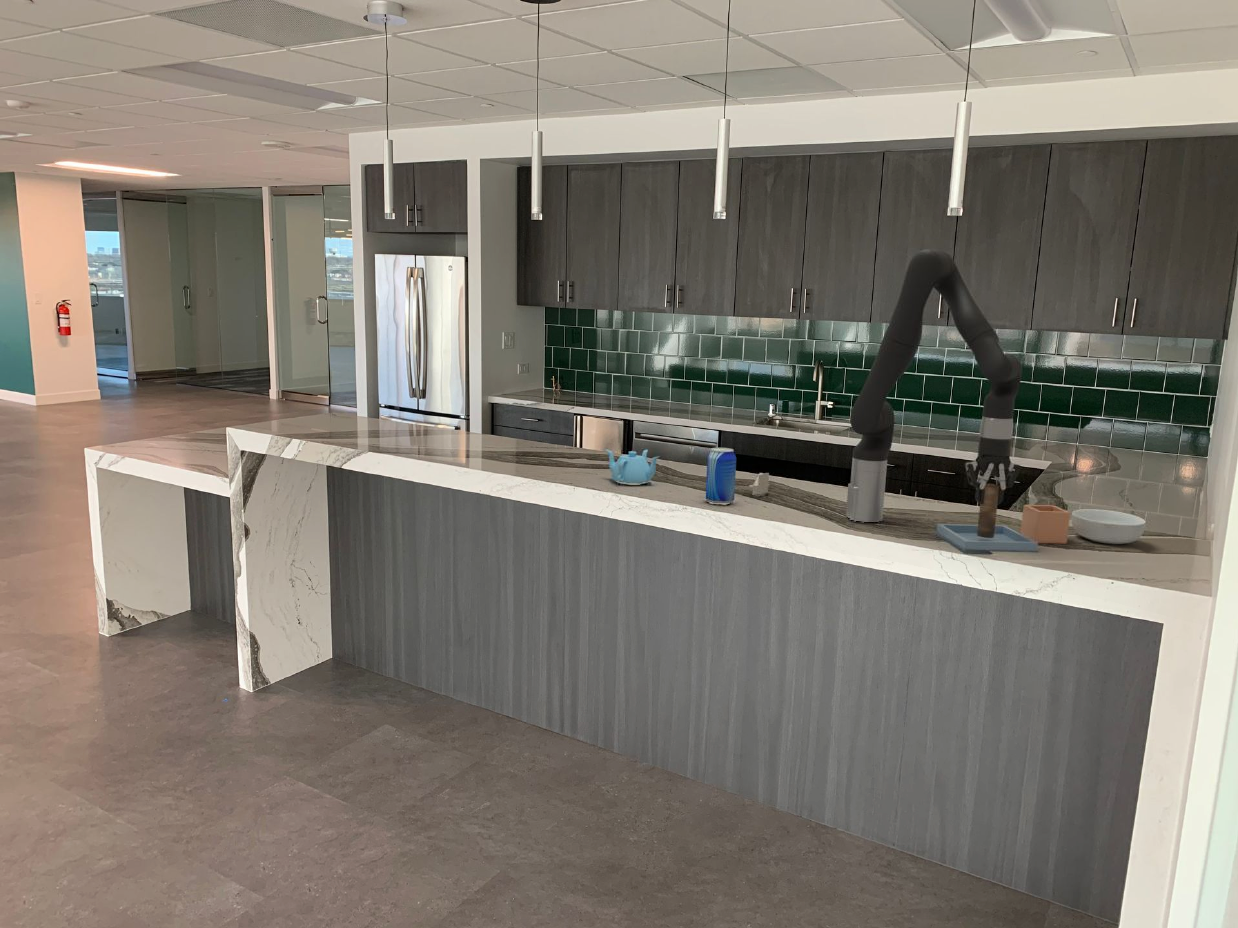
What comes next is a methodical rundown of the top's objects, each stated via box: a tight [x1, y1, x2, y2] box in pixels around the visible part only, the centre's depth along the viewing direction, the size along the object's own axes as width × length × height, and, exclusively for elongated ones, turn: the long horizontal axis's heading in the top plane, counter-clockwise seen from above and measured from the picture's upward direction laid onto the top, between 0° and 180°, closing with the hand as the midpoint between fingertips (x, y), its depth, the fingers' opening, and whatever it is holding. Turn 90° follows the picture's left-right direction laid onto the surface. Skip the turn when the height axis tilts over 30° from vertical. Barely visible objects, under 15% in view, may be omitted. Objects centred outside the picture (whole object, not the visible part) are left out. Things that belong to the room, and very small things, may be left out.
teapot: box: [605, 448, 661, 483], centre depth 299 cm, size 15×15×10 cm
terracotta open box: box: [1020, 504, 1071, 545], centre depth 238 cm, size 8×8×9 cm
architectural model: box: [748, 472, 770, 495], centre depth 286 cm, size 3×7×7 cm, turn 139°
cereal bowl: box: [1070, 508, 1146, 545], centre depth 240 cm, size 17×17×7 cm
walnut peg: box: [977, 483, 999, 538], centre depth 232 cm, size 4×4×13 cm
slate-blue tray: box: [935, 523, 1039, 555], centre depth 234 cm, size 18×18×3 cm
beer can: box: [705, 447, 737, 504], centre depth 272 cm, size 8×8×16 cm
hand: (988, 503), depth 232 cm, fingers closed on walnut peg, 4 cm apart
